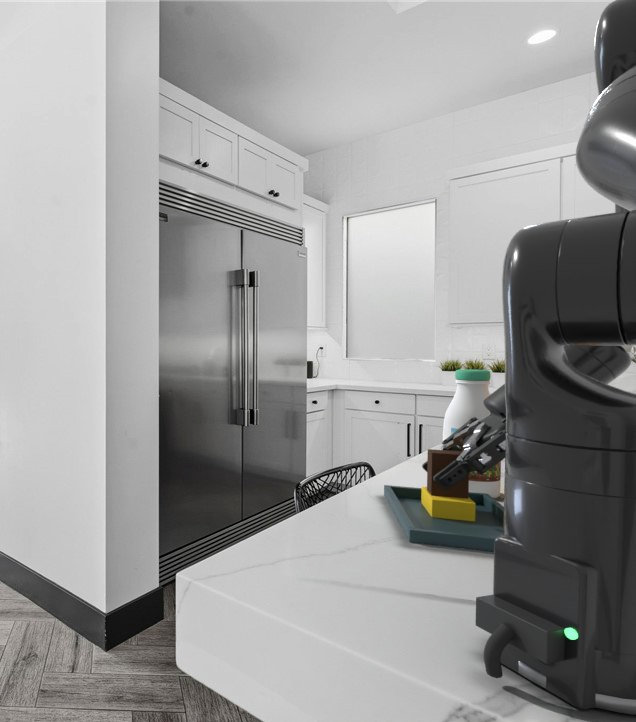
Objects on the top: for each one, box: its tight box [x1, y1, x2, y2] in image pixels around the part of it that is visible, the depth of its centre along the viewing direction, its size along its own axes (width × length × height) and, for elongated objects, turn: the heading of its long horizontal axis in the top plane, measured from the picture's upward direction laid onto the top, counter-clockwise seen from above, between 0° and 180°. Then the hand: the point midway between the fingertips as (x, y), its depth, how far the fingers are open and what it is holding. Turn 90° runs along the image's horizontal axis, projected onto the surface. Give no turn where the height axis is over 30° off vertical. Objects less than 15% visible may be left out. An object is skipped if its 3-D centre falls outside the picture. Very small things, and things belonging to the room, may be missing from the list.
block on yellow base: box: [421, 448, 476, 522], centre depth 75 cm, size 7×5×8 cm
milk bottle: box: [442, 369, 502, 499], centre depth 85 cm, size 8×8×20 cm
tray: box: [383, 484, 504, 553], centre depth 71 cm, size 22×14×2 cm, turn 159°
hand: (432, 477), depth 75 cm, fingers open, 7 cm apart
